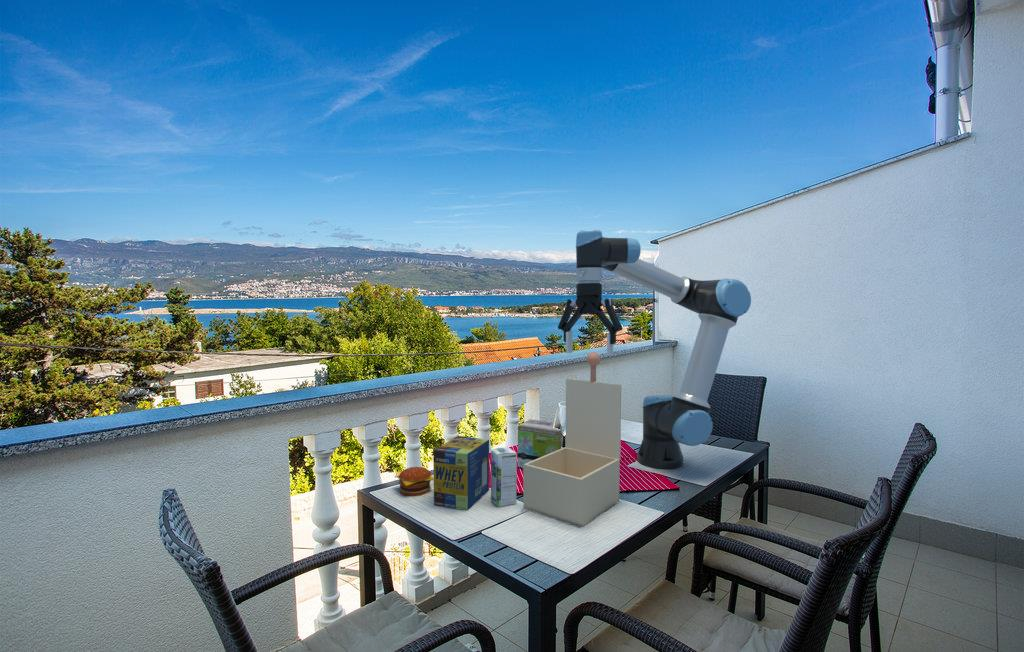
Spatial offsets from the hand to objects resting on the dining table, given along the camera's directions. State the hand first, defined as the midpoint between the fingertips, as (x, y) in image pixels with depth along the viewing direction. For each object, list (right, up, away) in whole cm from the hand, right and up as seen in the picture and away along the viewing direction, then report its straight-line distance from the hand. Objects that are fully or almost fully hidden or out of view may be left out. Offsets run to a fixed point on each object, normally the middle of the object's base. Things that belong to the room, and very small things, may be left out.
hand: (589, 354), depth 146 cm
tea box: (-12, -39, +18) cm, 45 cm away
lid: (-1, -14, -7) cm, 15 cm away
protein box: (-37, -41, -7) cm, 55 cm away
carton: (-7, -40, -13) cm, 43 cm away
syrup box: (-25, -41, -10) cm, 49 cm away
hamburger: (-52, -40, -2) cm, 66 cm away
